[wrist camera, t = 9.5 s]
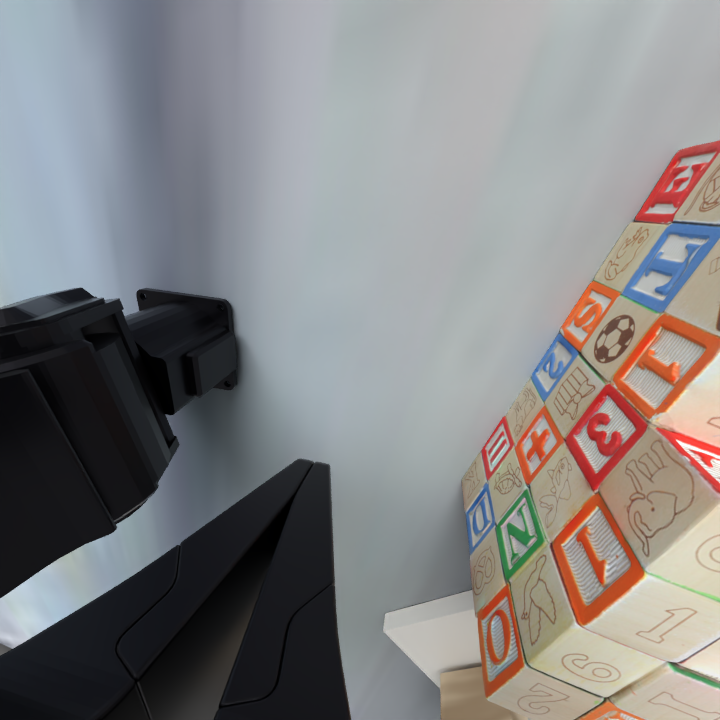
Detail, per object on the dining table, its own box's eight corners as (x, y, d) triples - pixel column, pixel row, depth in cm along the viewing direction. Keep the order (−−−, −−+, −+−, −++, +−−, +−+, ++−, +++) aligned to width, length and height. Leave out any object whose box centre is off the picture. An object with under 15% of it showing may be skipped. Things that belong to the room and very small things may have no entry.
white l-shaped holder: (385, 613, 32) (374, 704, 26) (482, 586, 28) (496, 687, 22) (452, 683, 34) (457, 780, 28) (551, 667, 30) (579, 777, 24)
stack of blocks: (673, 145, 15) (1369, -43, 4) (813, 194, 15) (1995, 144, 4) (459, 481, 24) (482, 708, 13) (543, 514, 24) (637, 774, 13)
